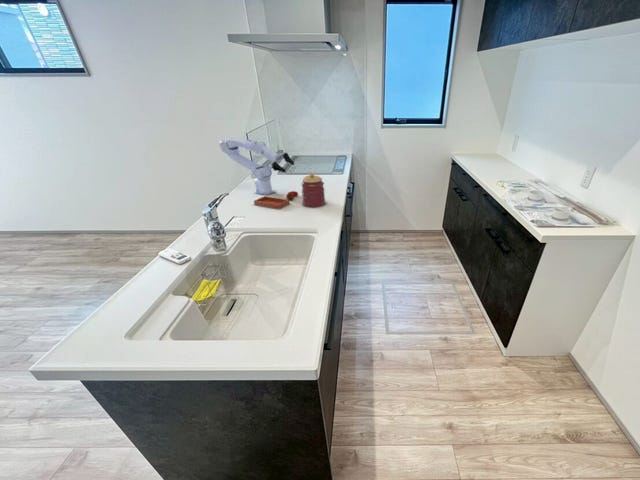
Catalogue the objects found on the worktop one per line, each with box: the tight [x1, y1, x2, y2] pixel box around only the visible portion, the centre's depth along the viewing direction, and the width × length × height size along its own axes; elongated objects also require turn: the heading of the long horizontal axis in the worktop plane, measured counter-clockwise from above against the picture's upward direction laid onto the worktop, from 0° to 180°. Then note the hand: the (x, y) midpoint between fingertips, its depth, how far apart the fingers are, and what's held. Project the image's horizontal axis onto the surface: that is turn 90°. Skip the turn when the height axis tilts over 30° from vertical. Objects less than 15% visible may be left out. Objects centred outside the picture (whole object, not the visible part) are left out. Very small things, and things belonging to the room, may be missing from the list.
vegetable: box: [286, 190, 299, 201], centre depth 191 cm, size 4×5×12 cm
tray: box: [253, 195, 290, 210], centre depth 182 cm, size 18×10×2 cm, turn 66°
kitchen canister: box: [300, 172, 326, 208], centre depth 179 cm, size 13×13×18 cm
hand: (289, 167), depth 184 cm, fingers open, 7 cm apart
